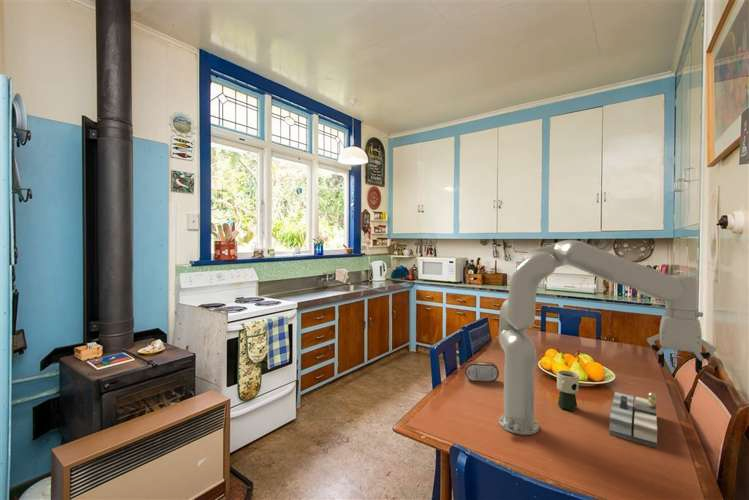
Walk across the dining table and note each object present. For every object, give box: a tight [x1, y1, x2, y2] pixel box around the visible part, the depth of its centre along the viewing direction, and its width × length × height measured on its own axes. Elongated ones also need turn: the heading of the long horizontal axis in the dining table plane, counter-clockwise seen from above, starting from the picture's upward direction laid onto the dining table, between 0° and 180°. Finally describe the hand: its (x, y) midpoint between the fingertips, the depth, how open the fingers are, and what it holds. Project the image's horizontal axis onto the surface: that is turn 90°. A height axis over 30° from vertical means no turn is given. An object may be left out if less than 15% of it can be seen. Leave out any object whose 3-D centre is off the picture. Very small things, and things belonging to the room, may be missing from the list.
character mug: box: [556, 369, 580, 411], centre depth 132 cm, size 11×7×13 cm, turn 133°
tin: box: [463, 361, 500, 383], centre depth 157 cm, size 15×3×8 cm, turn 84°
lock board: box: [608, 391, 658, 449], centre depth 119 cm, size 24×12×8 cm, turn 142°
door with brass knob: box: [634, 391, 658, 414], centre depth 117 cm, size 2×6×6 cm, turn 52°
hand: (679, 368), depth 112 cm, fingers open, 7 cm apart
